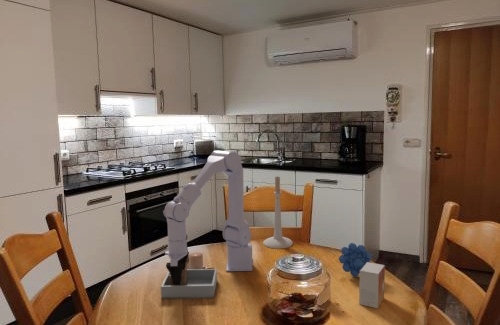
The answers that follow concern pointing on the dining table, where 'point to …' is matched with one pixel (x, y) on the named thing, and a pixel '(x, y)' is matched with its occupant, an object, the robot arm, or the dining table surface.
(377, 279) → the small box
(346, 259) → the blue flower
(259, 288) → the dining table surface
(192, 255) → the terracotta cylinder
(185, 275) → the walnut cube
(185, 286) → the tote
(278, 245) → the candlestick
